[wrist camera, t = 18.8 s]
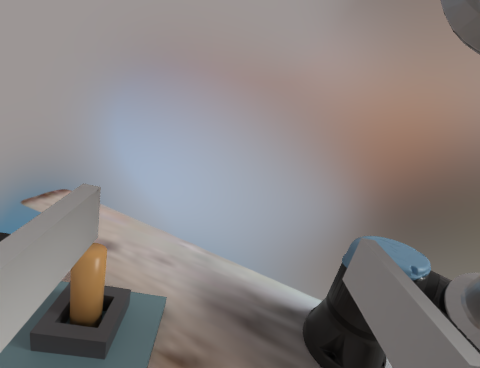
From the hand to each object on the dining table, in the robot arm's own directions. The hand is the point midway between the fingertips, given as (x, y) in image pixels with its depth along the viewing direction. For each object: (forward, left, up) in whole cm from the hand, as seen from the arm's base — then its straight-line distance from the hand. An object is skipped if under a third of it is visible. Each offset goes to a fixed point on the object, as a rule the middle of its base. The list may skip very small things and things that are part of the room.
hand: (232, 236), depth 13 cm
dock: (+16, -21, -35) cm, 44 cm away
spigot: (+16, -21, -34) cm, 43 cm away
